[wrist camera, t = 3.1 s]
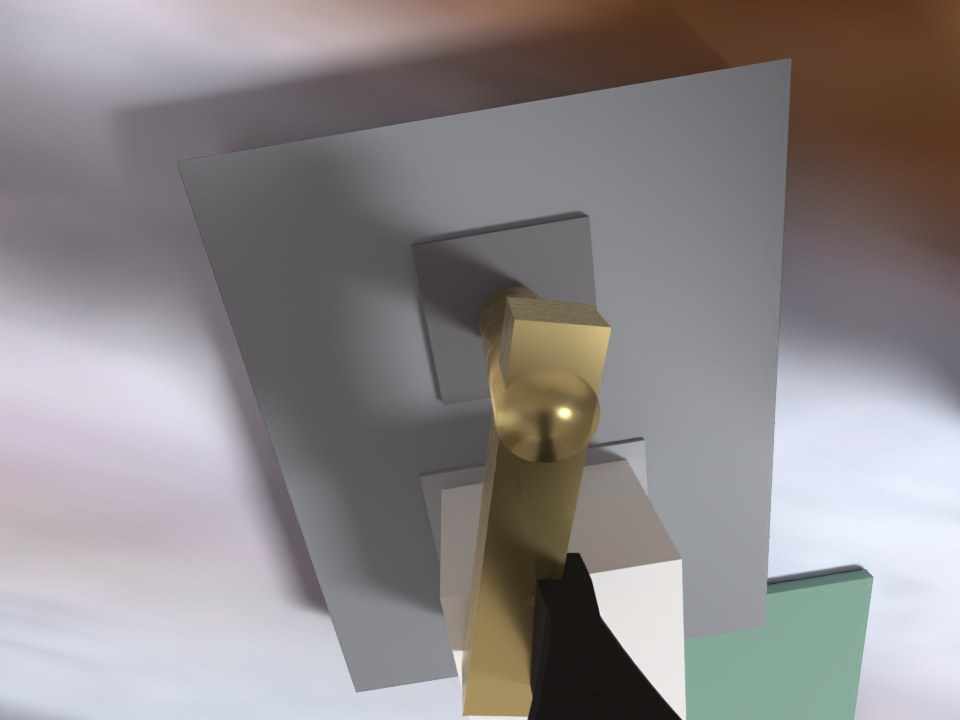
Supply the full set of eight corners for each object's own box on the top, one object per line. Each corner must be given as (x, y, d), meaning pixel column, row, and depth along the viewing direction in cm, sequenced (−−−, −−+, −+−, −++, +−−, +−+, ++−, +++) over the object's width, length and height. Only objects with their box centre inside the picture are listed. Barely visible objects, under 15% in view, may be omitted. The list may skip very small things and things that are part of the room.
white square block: (627, 459, 15) (681, 559, 12) (636, 601, 17) (686, 723, 13) (441, 489, 15) (439, 598, 12) (471, 628, 17) (477, 758, 13)
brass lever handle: (557, 258, 13) (617, 327, 8) (512, 549, 15) (539, 717, 11) (485, 252, 12) (507, 319, 8) (454, 546, 15) (457, 715, 11)
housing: (735, 69, 14) (797, 56, 12) (728, 569, 20) (768, 631, 18) (220, 157, 14) (171, 161, 12) (366, 628, 20) (355, 698, 18)
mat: (865, 569, 20) (873, 577, 20) (844, 735, 24) (850, 745, 23) (618, 609, 20) (621, 617, 20) (631, 769, 24) (634, 779, 24)
